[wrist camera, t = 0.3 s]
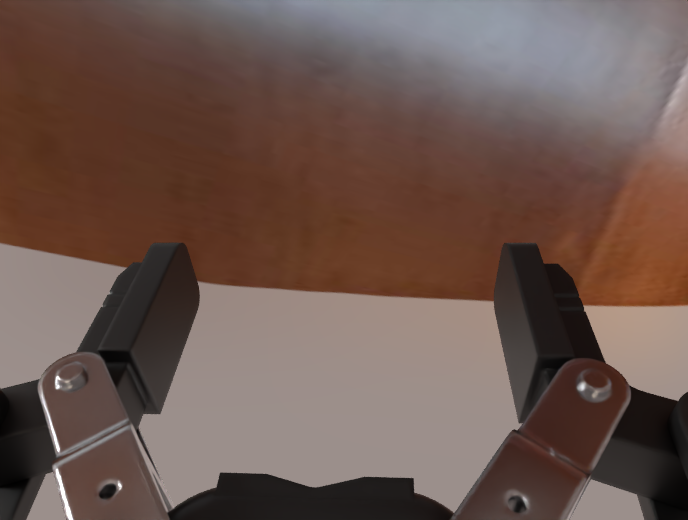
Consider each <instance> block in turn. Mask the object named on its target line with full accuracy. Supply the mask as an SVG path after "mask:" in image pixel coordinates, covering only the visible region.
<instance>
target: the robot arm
mask: <svg viewBox="0 0 688 520" xmlns="http://www.w3.org/2000/svg"><path fill="white" fill-rule="evenodd" d="M199 298H200V295H199V286H198V283H197V279H196V276H195V273H194V269H193V266H192V263H191V260H190V256H189V253H188V250H187V247H186V245H185V244H184V243H153V244H152V245H151V246H150V248H149V250H148V252H147V254H146V256H145V258H144V260H143V262H142V263H132V264H131V265H130V266H129V267H128V268H127V269H126V270H125V271H123V272H122V273H121V274H120V275H119V276H118V277H117V279H116V281H115V283H114V284H113V286H112V288H111V290H110V294H109V295H107V297H106V299H105V301H104V303H103V307H101V308H100V310H99V312H98V313H97V315H96V317H95V319H94V321H93V323H92V324H91V327H90V328H89V330H88V332H87V334H86V335H85V337H84V339H83V341H82V343H81V344H80V347H79V348H78V350H77V352H76V353H73V354H69V355H67V356H65V357H62V358H61V359H59V360H57V361H56V362H54V363H53V364H52V365H50V366H49V367H48V368H47V369H46V370H45V372H44V373H43V374H42V376H41V378H40V379H38V380H35V381H31V382H27V383H24V384H19V385H15V386H11V387H7V388H3V389H0V520H26V519H27V516H28V514H29V512H30V509H31V507H32V505H33V502H34V500H35V498H36V495H37V493H38V491H39V489H40V486H41V484H42V482H43V479H44V477H45V474H47V473H50V472H53V473H54V477H55V480H56V484H57V488H58V491H59V495H60V499H61V502H62V506H63V509H64V513H65V517H66V520H570V518H571V516H572V514H573V512H574V510H575V509H576V507H577V505H578V503H579V501H580V499H581V497H582V495H583V493H584V491H585V490H586V488H587V486H588V484H589V482H590V480H591V479H593V480H595V481H598V482H601V483H604V484H607V485H610V486H614V487H616V488H619V489H623V490H626V491H629V492H632V493H635V494H637V496H638V499H639V502H640V506H641V509H642V513H643V516H644V520H688V392H687V393H685V394H684V395H683V396H682V397H681V398H680V399H679V401H676V400H672V399H668V398H664V397H661V396H657V395H654V394H650V393H646V392H643V391H640V390H638V389H636V388H633V387H631V386H629V384H628V383H627V381H626V379H625V378H624V377H623V376H622V374H620V373H619V372H618V371H617V370H616V369H614V368H613V367H611V366H610V365H608V364H606V363H605V360H604V358H603V355H602V353H601V350H600V348H599V345H598V343H597V340H596V338H595V335H594V332H593V330H592V327H591V325H590V322H589V319H588V317H587V315H586V312H584V307H583V304H582V301H581V299H580V298H579V294H578V291H577V289H576V286H575V284H574V281H573V278H572V277H571V276H570V275H569V274H568V273H567V272H566V271H565V270H564V269H563V268H562V267H561V266H560V265H559V264H544V263H543V260H542V257H541V254H540V251H539V249H538V246H537V244H536V243H504V244H503V247H502V251H501V256H500V261H499V267H498V272H497V278H496V283H495V289H494V308H495V314H496V319H497V324H498V329H499V333H500V338H501V343H502V347H503V352H504V357H505V361H506V365H507V371H508V375H509V380H510V384H511V389H512V394H513V398H514V403H515V407H516V412H517V417H518V422H519V423H523V424H522V426H521V427H520V428H519V429H518V430H512V431H511V432H510V433H509V435H508V436H507V437H506V439H505V440H504V442H503V443H502V444H501V446H500V447H499V449H498V450H497V452H496V453H495V455H494V456H493V458H492V459H491V460H490V462H489V463H488V465H487V467H486V468H485V469H484V471H483V472H482V474H481V475H480V477H479V478H478V479H477V481H476V483H475V484H474V485H473V487H472V488H471V490H470V491H469V493H468V494H467V496H466V497H465V499H464V500H463V502H462V503H461V504H460V506H459V507H458V509H457V510H456V512H455V513H453V512H452V511H451V510H449V509H448V508H446V507H445V506H444V505H442V504H440V503H438V502H437V501H435V500H433V499H430V498H428V497H426V496H424V495H420V494H417V493H414V479H413V478H386V477H362V478H358V479H354V480H349V481H344V482H340V483H336V484H331V485H327V486H323V487H317V488H314V487H308V486H305V485H302V484H298V483H295V482H292V481H288V480H285V479H282V478H278V477H275V476H272V475H268V474H248V473H220V476H219V480H218V484H217V488H213V489H210V490H207V491H204V492H201V493H199V494H197V495H195V496H193V497H190V498H188V499H187V500H186V501H184V502H182V503H180V504H179V505H177V506H176V507H174V505H173V503H172V501H171V498H170V496H169V494H168V492H167V490H166V488H165V485H164V483H163V481H162V479H161V476H160V474H159V472H158V470H157V467H156V465H155V463H154V461H153V458H152V456H151V454H150V451H149V449H148V447H147V445H146V442H145V440H144V438H143V435H142V433H141V431H140V429H139V427H138V426H139V424H140V421H141V418H142V416H143V414H160V413H161V411H162V408H163V405H164V402H165V399H166V397H167V393H168V391H169V388H170V386H171V383H172V380H173V377H174V374H175V372H176V369H177V366H178V363H179V361H180V358H181V355H182V352H183V349H184V346H185V344H186V341H187V338H188V335H189V333H190V330H191V327H192V324H193V321H194V319H195V316H196V313H197V310H198V306H199Z"/></svg>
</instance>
